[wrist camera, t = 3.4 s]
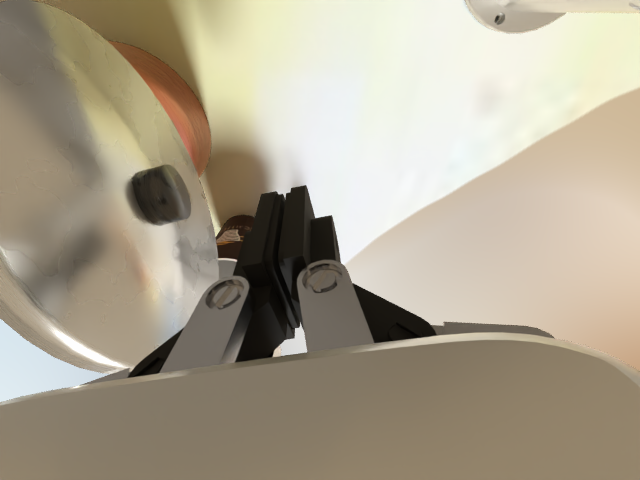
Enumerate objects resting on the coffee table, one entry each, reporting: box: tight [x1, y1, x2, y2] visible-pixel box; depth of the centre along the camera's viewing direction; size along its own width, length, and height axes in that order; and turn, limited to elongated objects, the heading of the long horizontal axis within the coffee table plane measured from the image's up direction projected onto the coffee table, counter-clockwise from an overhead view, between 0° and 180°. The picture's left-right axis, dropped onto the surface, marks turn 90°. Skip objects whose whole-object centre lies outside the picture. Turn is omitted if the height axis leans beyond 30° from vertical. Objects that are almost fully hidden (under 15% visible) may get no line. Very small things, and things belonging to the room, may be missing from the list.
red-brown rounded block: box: [108, 41, 211, 177], centre depth 28 cm, size 16×16×11 cm
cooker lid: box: [0, 0, 219, 374], centre depth 16 cm, size 17×17×3 cm
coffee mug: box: [216, 215, 255, 280], centre depth 38 cm, size 12×9×10 cm
